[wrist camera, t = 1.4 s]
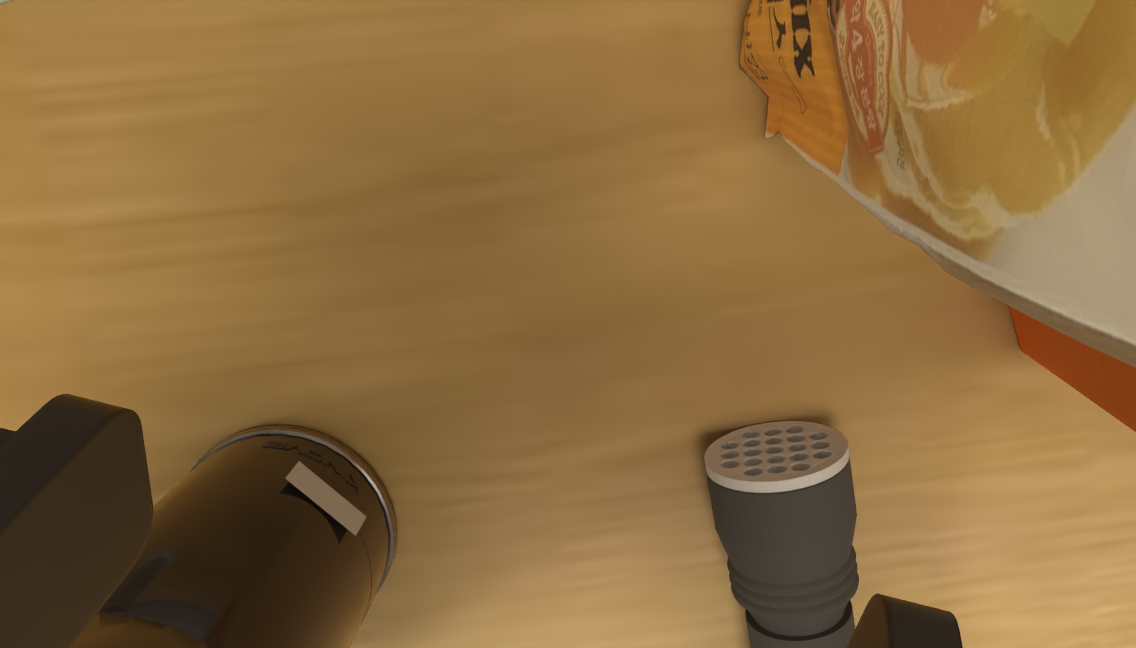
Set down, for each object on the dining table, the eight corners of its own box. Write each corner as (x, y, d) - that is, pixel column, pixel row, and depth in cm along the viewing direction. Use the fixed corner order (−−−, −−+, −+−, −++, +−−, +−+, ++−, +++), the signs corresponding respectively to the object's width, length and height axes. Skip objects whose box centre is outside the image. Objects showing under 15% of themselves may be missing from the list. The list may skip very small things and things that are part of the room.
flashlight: (872, 729, 43) (907, 822, 38) (751, 745, 43) (769, 838, 38) (830, 412, 39) (863, 467, 34) (698, 433, 39) (710, 490, 34)
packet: (1097, 326, 37) (1286, 429, 27) (1020, 350, 38) (1176, 462, 27) (1067, 206, 36) (1252, 265, 26) (988, 233, 37) (1138, 302, 26)
